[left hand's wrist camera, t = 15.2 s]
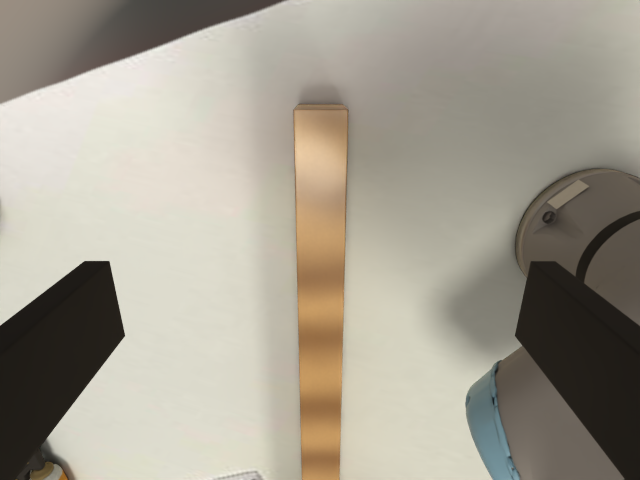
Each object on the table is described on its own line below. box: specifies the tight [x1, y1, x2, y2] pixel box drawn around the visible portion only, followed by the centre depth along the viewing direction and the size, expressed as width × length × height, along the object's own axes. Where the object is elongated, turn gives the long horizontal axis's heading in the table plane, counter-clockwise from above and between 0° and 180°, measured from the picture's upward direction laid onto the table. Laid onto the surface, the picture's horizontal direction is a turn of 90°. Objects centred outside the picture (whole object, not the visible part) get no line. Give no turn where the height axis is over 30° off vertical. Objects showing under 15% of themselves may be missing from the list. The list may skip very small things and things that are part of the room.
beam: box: [293, 104, 348, 480], centre depth 49 cm, size 64×5×8 cm, turn 0°
